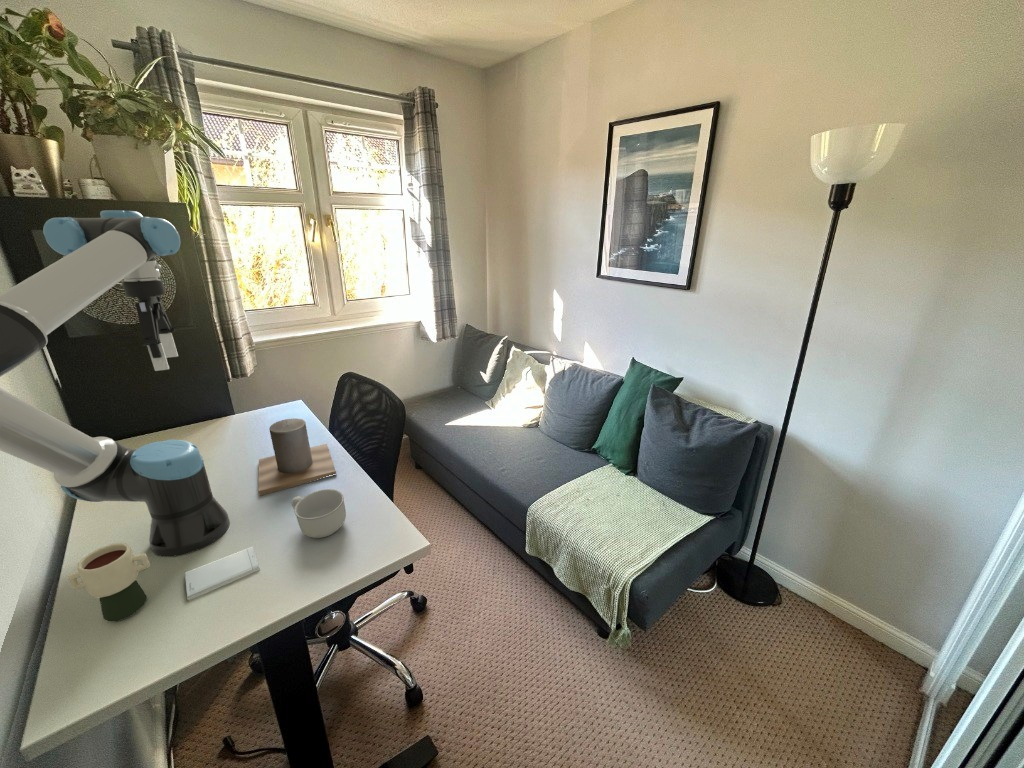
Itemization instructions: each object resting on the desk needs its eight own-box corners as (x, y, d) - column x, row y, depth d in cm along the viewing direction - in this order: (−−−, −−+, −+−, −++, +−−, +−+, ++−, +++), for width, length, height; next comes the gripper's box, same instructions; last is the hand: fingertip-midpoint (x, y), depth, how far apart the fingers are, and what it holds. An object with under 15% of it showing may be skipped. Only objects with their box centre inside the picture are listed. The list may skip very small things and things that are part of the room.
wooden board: (336, 475, 123) (335, 471, 122) (259, 495, 113) (258, 490, 113) (327, 447, 139) (326, 443, 139) (259, 463, 130) (258, 459, 129)
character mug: (166, 585, 84) (147, 534, 80) (159, 611, 78) (138, 557, 74) (95, 608, 79) (70, 555, 74) (82, 638, 73) (54, 581, 69)
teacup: (357, 524, 102) (353, 496, 99) (318, 551, 93) (312, 522, 90) (321, 506, 108) (316, 480, 106) (282, 530, 100) (276, 503, 97)
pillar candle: (270, 470, 123) (259, 425, 118) (295, 454, 131) (287, 412, 126) (295, 476, 120) (286, 430, 115) (320, 460, 129) (312, 416, 123)
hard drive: (186, 596, 80) (258, 565, 88) (184, 571, 86) (252, 544, 94) (188, 602, 81) (260, 571, 88) (186, 577, 87) (253, 550, 94)
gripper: (150, 282, 91) (177, 373, 98) (170, 275, 111) (191, 350, 118) (105, 285, 87) (136, 378, 95) (134, 276, 108) (158, 354, 115)
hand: (167, 363), depth 107 cm, fingers open, 13 cm apart
